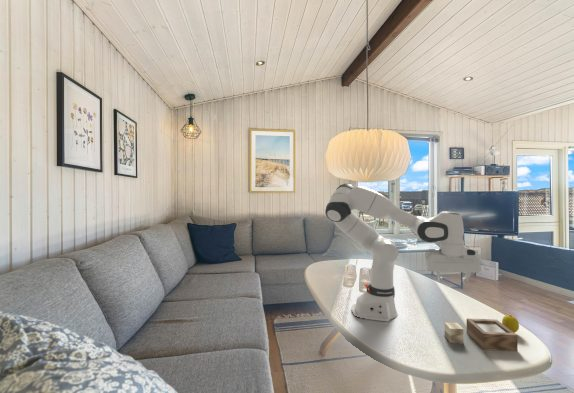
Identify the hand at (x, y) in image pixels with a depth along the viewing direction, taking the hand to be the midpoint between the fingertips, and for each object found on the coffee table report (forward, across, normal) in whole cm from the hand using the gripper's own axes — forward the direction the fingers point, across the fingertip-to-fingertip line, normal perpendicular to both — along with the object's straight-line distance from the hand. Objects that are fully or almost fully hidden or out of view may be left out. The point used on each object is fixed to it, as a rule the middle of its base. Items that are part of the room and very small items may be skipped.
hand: (452, 281), depth 110 cm
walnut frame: (+24, +13, -1) cm, 27 cm away
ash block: (+24, -1, -2) cm, 24 cm away
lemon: (+24, +24, +7) cm, 35 cm away
